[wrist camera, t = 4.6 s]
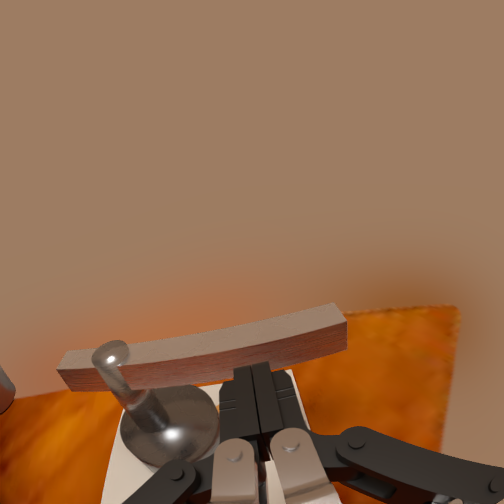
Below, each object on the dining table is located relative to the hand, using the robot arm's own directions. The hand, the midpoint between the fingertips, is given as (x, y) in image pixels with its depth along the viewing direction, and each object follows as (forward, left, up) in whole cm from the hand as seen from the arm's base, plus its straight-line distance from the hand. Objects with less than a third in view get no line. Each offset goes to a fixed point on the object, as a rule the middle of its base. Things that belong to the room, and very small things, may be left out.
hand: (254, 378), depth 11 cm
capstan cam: (-5, +6, -13) cm, 15 cm away
